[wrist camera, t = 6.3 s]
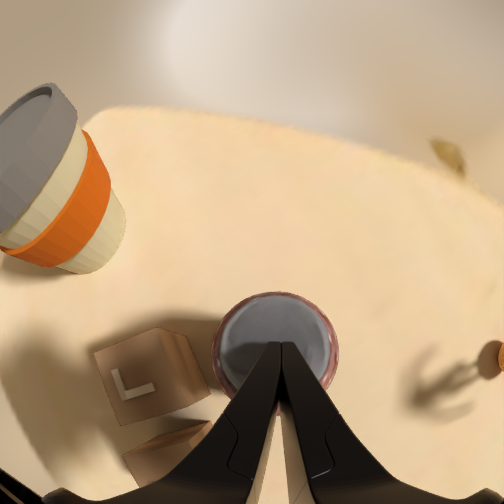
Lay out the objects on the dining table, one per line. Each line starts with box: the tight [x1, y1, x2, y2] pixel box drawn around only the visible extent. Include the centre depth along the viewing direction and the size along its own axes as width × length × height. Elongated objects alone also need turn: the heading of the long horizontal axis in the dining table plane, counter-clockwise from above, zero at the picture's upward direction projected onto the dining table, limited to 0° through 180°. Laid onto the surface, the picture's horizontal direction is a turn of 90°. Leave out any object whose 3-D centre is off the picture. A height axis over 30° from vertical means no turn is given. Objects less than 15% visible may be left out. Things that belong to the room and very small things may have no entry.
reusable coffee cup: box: [0, 83, 126, 274], centre depth 18 cm, size 13×12×15 cm
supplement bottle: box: [211, 292, 339, 416], centre depth 14 cm, size 6×6×11 cm
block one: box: [122, 421, 213, 488], centre depth 14 cm, size 5×5×6 cm
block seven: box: [94, 327, 211, 426], centre depth 17 cm, size 5×5×6 cm
